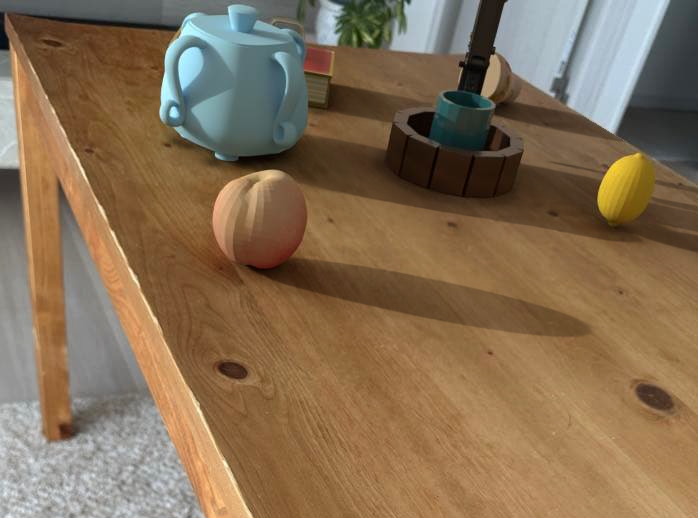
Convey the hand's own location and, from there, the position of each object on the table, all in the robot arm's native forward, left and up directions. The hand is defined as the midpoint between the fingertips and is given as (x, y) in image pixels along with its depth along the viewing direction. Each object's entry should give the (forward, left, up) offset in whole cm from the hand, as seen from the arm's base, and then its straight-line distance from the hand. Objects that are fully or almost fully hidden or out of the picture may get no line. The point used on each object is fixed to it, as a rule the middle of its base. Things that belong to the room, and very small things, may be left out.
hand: (461, 119), depth 106 cm
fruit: (+16, +42, -4) cm, 45 cm away
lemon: (-19, +14, -4) cm, 24 cm away
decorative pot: (+25, +14, -4) cm, 29 cm away
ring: (0, +8, -4) cm, 8 cm away
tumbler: (0, +8, -4) cm, 9 cm away
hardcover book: (+28, -10, -4) cm, 30 cm away
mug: (-4, -23, -4) cm, 24 cm away
